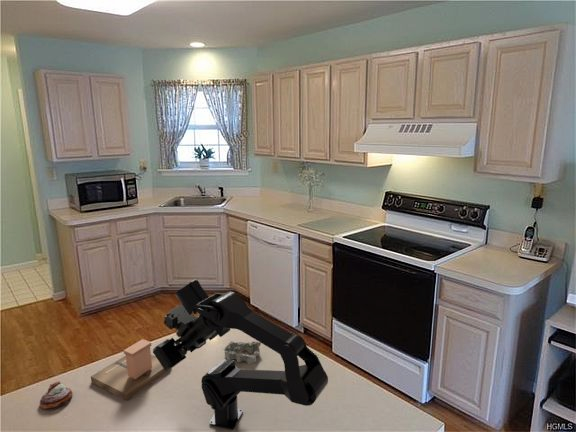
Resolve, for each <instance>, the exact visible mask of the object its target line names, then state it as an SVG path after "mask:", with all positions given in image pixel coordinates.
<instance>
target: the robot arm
mask: <svg viewBox="0 0 576 432" xmlns="http://www.w3.org/2000/svg"><path fill="white" fill-rule="evenodd" d="M175 296H176V298H177V300H178V301H179V303H180V305H177V306H176V307H173V308H172V309H170V310H169V312H168V313H167V312H166V315H165V316H164V317H163V319H164V320H163V324H164V326H166V327H167V328H168V330H173V329H175V330H177V331H176V333H175V334H176V336H177V337H178V339H175V338H174V337H171V338H170V339H168V338H167V339H166V340H164V341H162V342H160V343H159V344H157V345H156V346H155V347H154V348H153V349H152V353H153V355H154V356H156V358H157V359H158V361H159V362H160V364H161V365H162V367H163V368H164V370H166V371H168V372H170V371H171V370H172V369H173V368H174V367H176V366H177V365H178V364H180V363H181V362H182V361H184V360H185V359H186V358H187V354H188V352H190V353H193V352H194V351H195V350H197V349H200V348H202V347H203V346H205V345H206V344H207V341H208V340H209V341H212V340H213V339H215V338H216V337H217V336H219V337H220V338H222V337H223V336H225V335H226V334H227V333H228V332H230V331H231V329H234V330H238V331H241V332H242V333H244V334H246V335H247V336H249V337H251V338H252V339H254V340H256V342H260V343H261V344H262V345H264V346H266V347H267V348H269V349H271V350H273V351H274V352H275V353H277V354H279V355H280V357H281V359H282V361H283V366H284V370H270V369H268V370H266V369H265V370H264V369H243V368H242V369H240V368H239V367H238V366H237V364H236V361H235V359H231V360H227V359H225V358H224V359H222V360H221V361H219V362H218V363H217V364H215V366H214V367H212V368H211V369H210V370H208V371H207V372H206V373H205V374H204V375H203V376H202V378H201V390H202V392H203V395H204V400H205V401H206V404H207V405H209V406H210V407H211V409H212V410H214V414H213V415H212V418H211V419H210V420H209V423H208V424H209V425H210V426H213V427H218V428H224V429H227V430H234V429H235V428H236V426H237V424H238V422H239V420H240V418H241V416H242V414H243V412H244V410H243V409H241V408H238V407H239V406H238V395H239V394H240V393H243V392H244V393H252V394H253V393H255V394H257V393H258V394H267V395H268V394H269V395H270V394H271V395H281V396H282V395H283V396H285V397H286V398H287V400H289V401H290V402H291V403H293V404H297V405H301V406H305V407H311V406H312V405H313V404H314V403H315V402H316V401H317V399H319V397H320V395H321V394H322V392H324V389H326V387H327V386H328V383H329V376H328V374H327V372H326V371H325V369H324V368H323V365H322V362H321V361H320V359H319V356H317V354H316V353H315V352H314V351H312V350H311V349H310V348H309V347H308V345H307V344H306V342H305V340H304V338H303V336H301V335H299V334H294V333H292V332H290V331H288V330H287V329H284V328H283V327H281V326H279V325H278V324H277V323H274V322H273V321H271V320H269V319H267V318H265V317H264V316H262V315H261V314H258V313H257V312H255V311H253V310H252V309H251V308H250V307H249V306H248V303H247V302H246V300H244V299H243V298H242V297H241V296H239V295H238V294H237V293H235V292H233V291H227V292H225V293H223V292H222V293H221V292H215V293H214V294H211V295H210V296H209V295H208V294H207V293H206V291H205V290H204V288H203V287H202V285H201V283H200V282H199V281H198V279H197V278H195V279H193V280H191V281H190V282H189V283H188V284H186V285H184V286H183V287H182V288H181V289H178V290H177V291H176V292H175ZM197 314H199V315H198V316H195V315H197ZM299 358H300V359H301V360H302V361H303V362H304V364H301V365H300V364H299V363H300V362H299ZM171 368H172V369H171ZM170 369H171V370H170Z"/></svg>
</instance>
